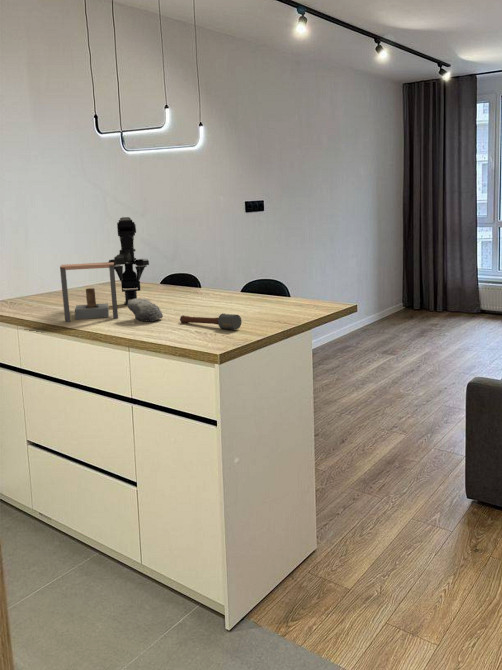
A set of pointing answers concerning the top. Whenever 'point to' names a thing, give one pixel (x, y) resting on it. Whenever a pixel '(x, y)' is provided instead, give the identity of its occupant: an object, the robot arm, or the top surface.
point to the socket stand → (82, 310)
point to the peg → (90, 297)
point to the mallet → (216, 321)
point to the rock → (144, 310)
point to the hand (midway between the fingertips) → (129, 281)
